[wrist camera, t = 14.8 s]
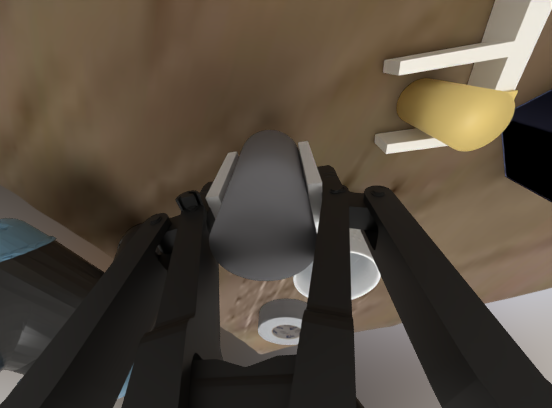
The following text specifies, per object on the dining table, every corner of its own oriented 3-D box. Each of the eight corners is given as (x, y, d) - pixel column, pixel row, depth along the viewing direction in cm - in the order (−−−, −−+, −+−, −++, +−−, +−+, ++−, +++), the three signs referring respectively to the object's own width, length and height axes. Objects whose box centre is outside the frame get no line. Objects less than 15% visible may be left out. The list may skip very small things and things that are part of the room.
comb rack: (374, 142, 29) (387, 155, 25) (397, -52, 19) (426, -79, 15) (467, 129, 28) (496, 141, 24) (548, -88, 17) (621, -126, 14)
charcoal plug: (248, 188, 19) (227, 284, 11) (233, 135, 17) (191, 212, 8) (302, 181, 19) (320, 276, 11) (296, 125, 16) (316, 196, 8)
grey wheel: (248, 308, 57) (245, 328, 53) (296, 291, 52) (297, 312, 47) (279, 330, 64) (279, 349, 60) (324, 317, 59) (327, 337, 55)
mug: (272, 181, 33) (267, 241, 23) (341, 158, 31) (373, 213, 20) (300, 243, 41) (306, 308, 31) (357, 228, 39) (385, 295, 28)
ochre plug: (393, 124, 28) (439, 154, 20) (400, 81, 25) (458, 96, 17) (433, 119, 27) (497, 147, 19) (445, 74, 24) (527, 85, 16)
